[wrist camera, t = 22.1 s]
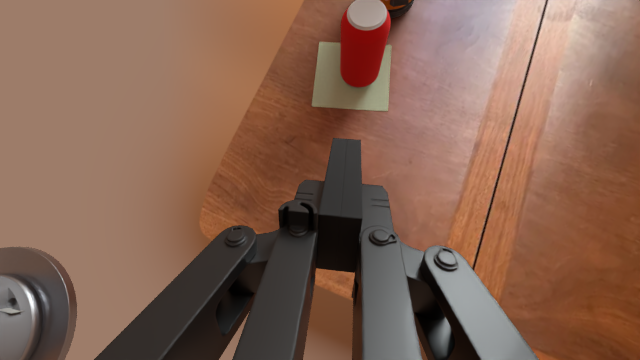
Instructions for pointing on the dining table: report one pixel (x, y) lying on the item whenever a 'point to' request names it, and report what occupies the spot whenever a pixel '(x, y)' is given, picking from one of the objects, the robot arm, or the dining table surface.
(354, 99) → the felt mat
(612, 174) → the dining table surface
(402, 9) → the canister
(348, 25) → the beverage can
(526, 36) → the dining table surface
